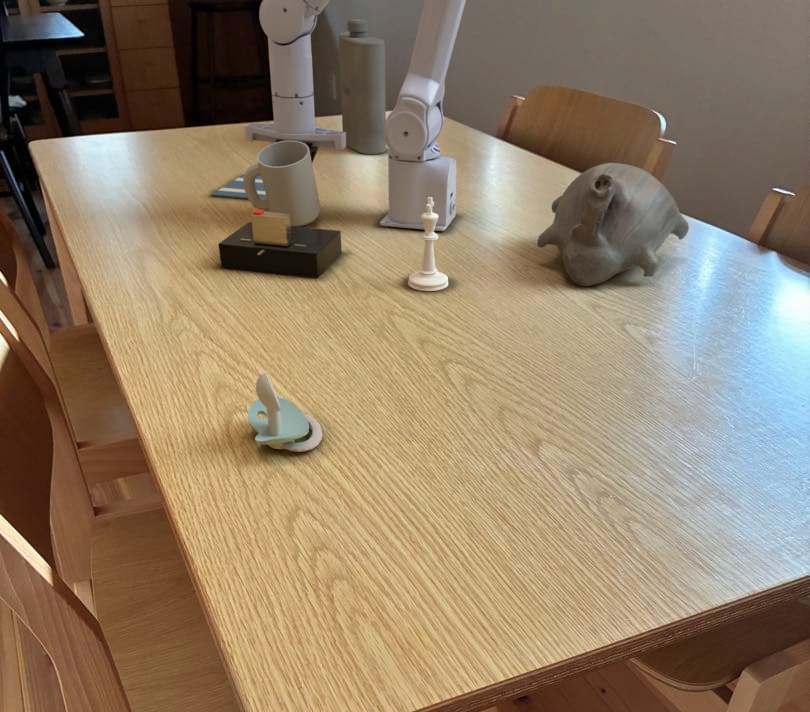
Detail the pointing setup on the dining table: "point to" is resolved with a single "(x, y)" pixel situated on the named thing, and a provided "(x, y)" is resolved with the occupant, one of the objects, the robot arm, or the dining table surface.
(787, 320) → the dining table surface
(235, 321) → the dining table surface
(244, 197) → the dish towel
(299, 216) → the cup
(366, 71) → the flask
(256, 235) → the tan flat block piece
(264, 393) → the pacifier
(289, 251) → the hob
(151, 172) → the dining table surface
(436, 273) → the chess piece
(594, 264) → the clay animal vessel
